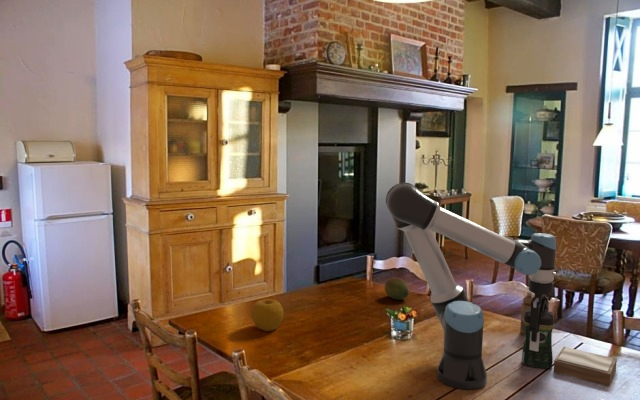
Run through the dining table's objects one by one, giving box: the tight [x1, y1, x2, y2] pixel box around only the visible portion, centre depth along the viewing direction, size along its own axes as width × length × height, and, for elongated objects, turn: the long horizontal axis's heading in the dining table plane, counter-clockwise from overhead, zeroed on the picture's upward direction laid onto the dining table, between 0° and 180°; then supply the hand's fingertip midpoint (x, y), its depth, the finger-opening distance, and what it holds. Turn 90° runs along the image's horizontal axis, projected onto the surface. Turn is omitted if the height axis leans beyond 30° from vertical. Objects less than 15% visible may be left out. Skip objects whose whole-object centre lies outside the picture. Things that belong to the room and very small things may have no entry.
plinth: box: [553, 346, 617, 387], centre depth 165 cm, size 14×16×4 cm
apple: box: [250, 298, 284, 332], centre depth 201 cm, size 13×13×11 cm
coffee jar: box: [521, 309, 555, 369], centre depth 170 cm, size 10×8×19 cm
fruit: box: [384, 276, 409, 301], centre depth 241 cm, size 12×13×10 cm
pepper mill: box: [519, 291, 534, 337], centre depth 197 cm, size 5×5×17 cm
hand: (537, 345), depth 170 cm, fingers closed on coffee jar, 8 cm apart
